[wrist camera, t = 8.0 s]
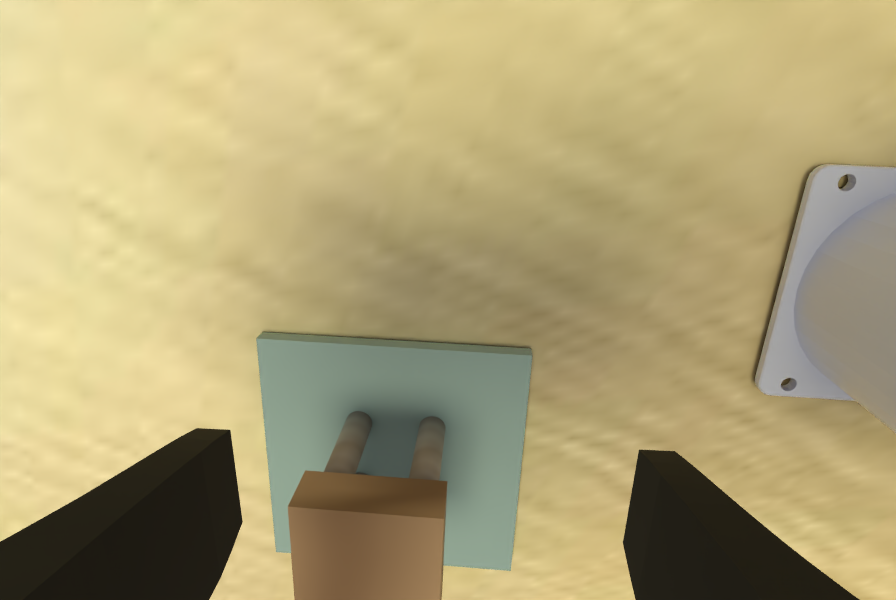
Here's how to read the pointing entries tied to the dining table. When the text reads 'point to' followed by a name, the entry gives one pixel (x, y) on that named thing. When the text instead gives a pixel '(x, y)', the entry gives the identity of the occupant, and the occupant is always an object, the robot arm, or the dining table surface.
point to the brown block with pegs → (370, 523)
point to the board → (403, 425)
